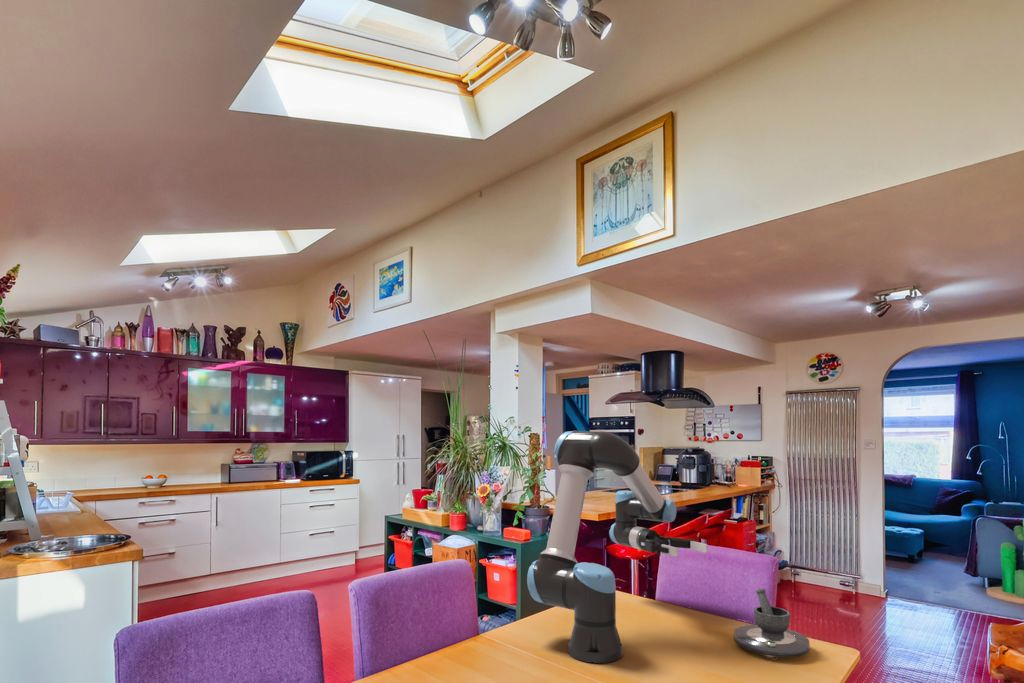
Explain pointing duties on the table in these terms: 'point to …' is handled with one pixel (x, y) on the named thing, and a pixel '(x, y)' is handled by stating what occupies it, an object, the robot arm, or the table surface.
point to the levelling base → (771, 642)
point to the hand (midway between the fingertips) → (692, 550)
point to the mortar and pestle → (771, 618)
